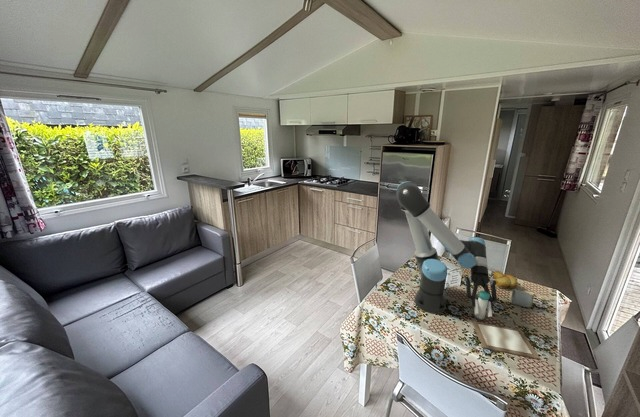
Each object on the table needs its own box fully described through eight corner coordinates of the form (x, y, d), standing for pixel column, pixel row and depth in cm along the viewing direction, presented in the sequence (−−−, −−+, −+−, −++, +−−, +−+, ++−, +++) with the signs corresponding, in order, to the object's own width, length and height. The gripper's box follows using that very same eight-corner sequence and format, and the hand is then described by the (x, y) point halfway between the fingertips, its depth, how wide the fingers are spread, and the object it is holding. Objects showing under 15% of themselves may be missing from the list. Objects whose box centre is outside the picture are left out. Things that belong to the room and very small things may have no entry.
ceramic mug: (531, 311, 129) (535, 298, 127) (511, 306, 133) (514, 293, 131) (527, 300, 138) (531, 288, 136) (509, 295, 142) (512, 283, 140)
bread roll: (514, 283, 154) (517, 271, 151) (522, 292, 145) (525, 280, 142) (490, 280, 156) (492, 268, 154) (496, 289, 147) (499, 277, 145)
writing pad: (482, 348, 106) (483, 346, 106) (472, 322, 121) (472, 320, 121) (539, 359, 101) (539, 358, 101) (521, 331, 116) (521, 329, 116)
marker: (475, 320, 122) (480, 295, 118) (472, 314, 126) (477, 290, 123) (485, 322, 121) (491, 297, 117) (482, 316, 125) (488, 291, 121)
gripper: (496, 271, 130) (501, 320, 120) (457, 266, 135) (459, 312, 125) (502, 267, 124) (508, 318, 113) (461, 262, 129) (464, 310, 118)
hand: (483, 315), depth 119 cm, fingers open, 5 cm apart
